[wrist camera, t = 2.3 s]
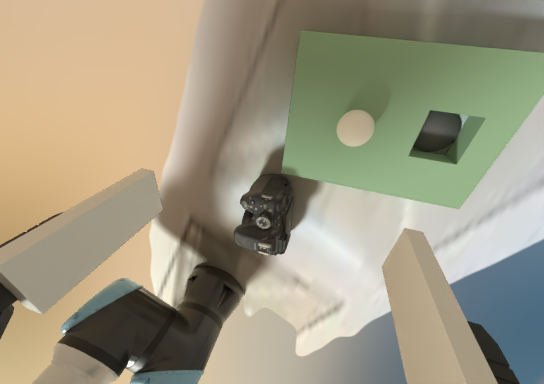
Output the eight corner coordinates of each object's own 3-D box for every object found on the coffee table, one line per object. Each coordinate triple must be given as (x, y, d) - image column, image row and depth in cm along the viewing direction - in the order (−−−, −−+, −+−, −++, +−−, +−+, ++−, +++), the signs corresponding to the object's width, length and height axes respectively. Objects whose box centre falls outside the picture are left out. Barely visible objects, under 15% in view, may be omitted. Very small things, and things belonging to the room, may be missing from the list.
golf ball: (332, 137, 27) (332, 148, 24) (341, 104, 25) (342, 111, 21) (365, 142, 26) (369, 154, 23) (376, 109, 24) (383, 117, 21)
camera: (236, 179, 38) (209, 212, 30) (288, 167, 34) (273, 201, 26) (263, 235, 44) (247, 276, 35) (310, 230, 40) (304, 274, 31)
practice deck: (285, 164, 34) (281, 172, 31) (303, 33, 25) (300, 30, 22) (448, 197, 30) (459, 209, 28) (544, 56, 21) (572, 55, 18)
